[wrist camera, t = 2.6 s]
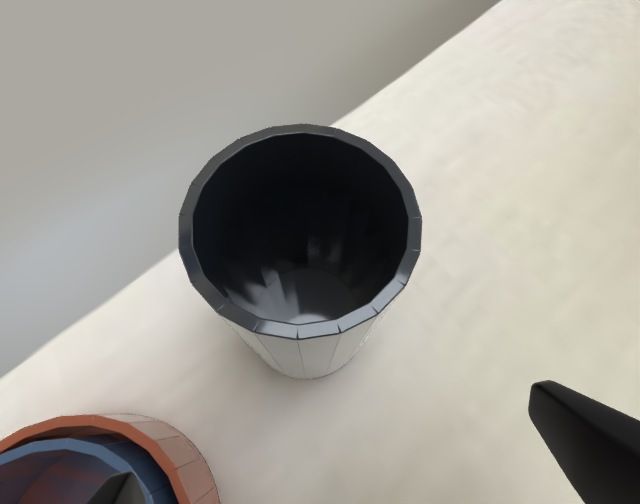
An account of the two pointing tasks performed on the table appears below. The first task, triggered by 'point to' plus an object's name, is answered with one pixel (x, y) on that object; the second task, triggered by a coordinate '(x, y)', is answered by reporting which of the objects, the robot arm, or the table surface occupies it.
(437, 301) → the table surface
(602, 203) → the table surface
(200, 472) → the stack bottom
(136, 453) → the stack middle
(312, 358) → the tumbler
